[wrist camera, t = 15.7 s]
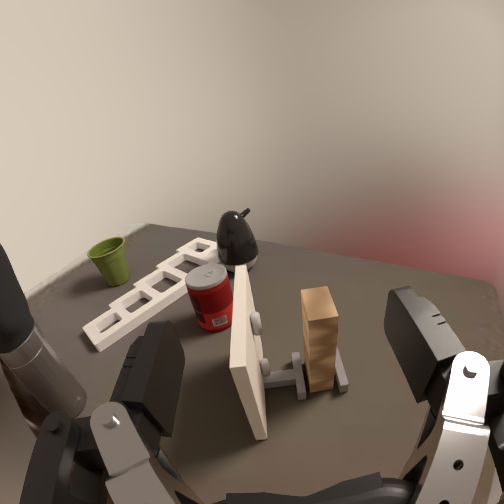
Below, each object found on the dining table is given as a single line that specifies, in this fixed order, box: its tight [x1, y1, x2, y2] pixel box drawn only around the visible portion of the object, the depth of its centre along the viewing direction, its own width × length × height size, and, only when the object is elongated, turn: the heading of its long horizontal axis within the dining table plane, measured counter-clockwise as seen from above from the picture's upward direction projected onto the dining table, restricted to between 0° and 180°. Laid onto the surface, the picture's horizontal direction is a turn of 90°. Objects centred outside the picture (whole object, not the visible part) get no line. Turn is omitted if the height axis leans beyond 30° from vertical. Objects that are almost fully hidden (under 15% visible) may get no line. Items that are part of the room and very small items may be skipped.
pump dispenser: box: [217, 208, 258, 272], centre depth 70 cm, size 10×10×15 cm
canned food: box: [185, 264, 233, 332], centre depth 54 cm, size 8×8×11 cm
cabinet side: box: [230, 265, 349, 440], centre depth 36 cm, size 14×18×17 cm
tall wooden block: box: [301, 286, 338, 393], centre depth 37 cm, size 4×6×15 cm, turn 0°
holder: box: [83, 238, 222, 352], centre depth 70 cm, size 45×18×3 cm, turn 140°
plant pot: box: [87, 237, 130, 287], centre depth 74 cm, size 12×12×11 cm
